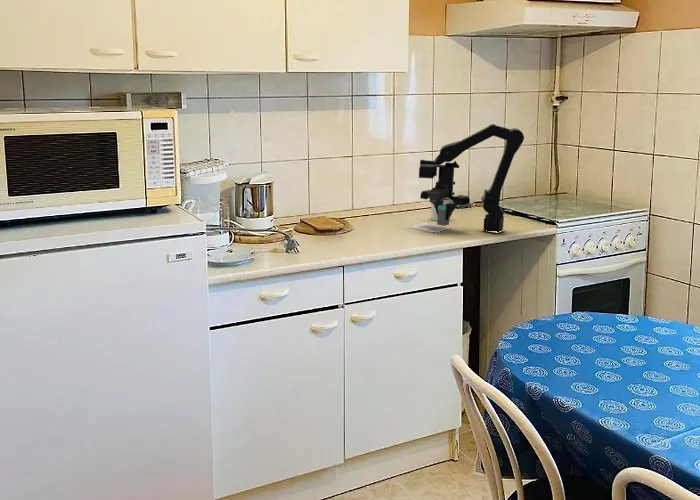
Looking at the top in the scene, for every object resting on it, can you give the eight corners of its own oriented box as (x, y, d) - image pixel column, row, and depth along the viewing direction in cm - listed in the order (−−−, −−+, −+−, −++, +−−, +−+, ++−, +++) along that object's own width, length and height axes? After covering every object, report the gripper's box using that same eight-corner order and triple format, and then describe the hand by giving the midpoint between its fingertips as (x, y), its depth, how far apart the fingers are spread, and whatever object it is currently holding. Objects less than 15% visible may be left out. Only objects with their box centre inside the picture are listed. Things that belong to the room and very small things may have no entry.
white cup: (450, 222, 305) (452, 197, 302) (430, 221, 305) (432, 196, 302) (448, 217, 312) (450, 193, 310) (429, 217, 312) (430, 192, 310)
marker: (449, 224, 292) (450, 205, 290) (444, 225, 290) (445, 206, 288) (441, 223, 294) (442, 204, 292) (436, 224, 292) (437, 205, 290)
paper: (450, 228, 293) (450, 227, 293) (436, 233, 285) (436, 232, 285) (424, 223, 300) (424, 222, 300) (409, 227, 293) (409, 226, 293)
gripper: (413, 178, 287) (411, 219, 291) (455, 184, 276) (453, 227, 280) (429, 175, 295) (427, 214, 299) (471, 181, 284) (468, 222, 288)
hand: (443, 219), depth 291 cm, fingers closed on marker, 3 cm apart
